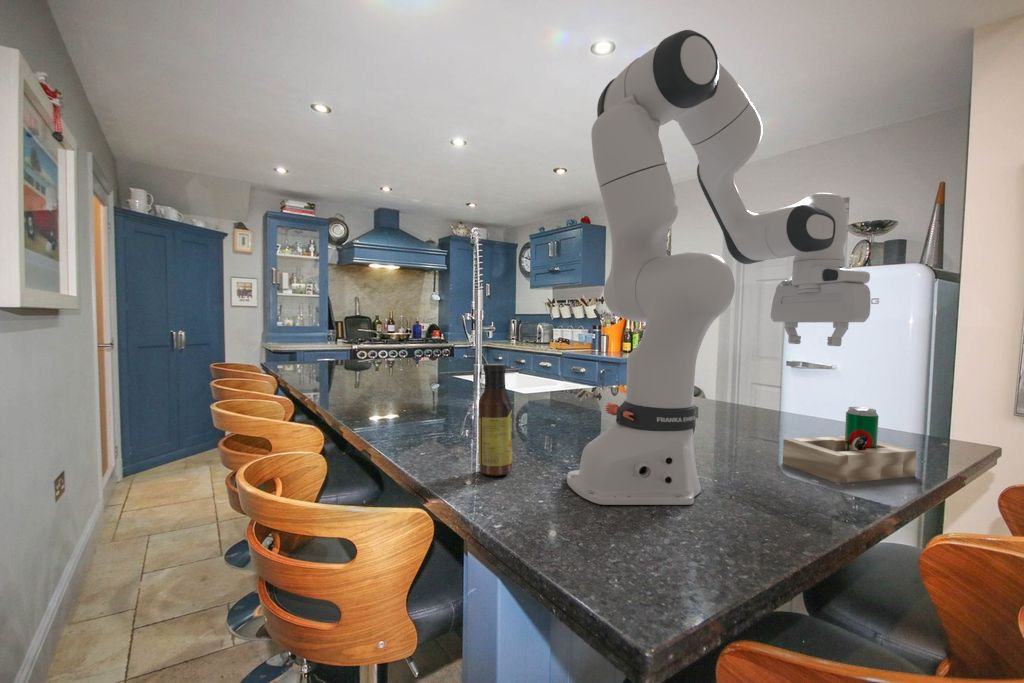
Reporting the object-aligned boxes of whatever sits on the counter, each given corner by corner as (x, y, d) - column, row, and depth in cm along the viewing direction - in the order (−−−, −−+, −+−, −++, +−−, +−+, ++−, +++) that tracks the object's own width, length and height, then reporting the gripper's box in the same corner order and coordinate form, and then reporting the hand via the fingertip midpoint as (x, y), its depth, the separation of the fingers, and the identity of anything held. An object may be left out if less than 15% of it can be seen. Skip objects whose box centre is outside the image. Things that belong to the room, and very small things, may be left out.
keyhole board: (836, 483, 82) (838, 455, 82) (782, 463, 94) (783, 439, 94) (914, 477, 87) (916, 450, 86) (853, 458, 98) (854, 435, 98)
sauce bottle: (518, 473, 85) (520, 365, 84) (489, 479, 81) (491, 366, 81) (499, 464, 90) (501, 362, 90) (471, 469, 87) (472, 363, 86)
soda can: (882, 474, 88) (885, 411, 88) (855, 473, 88) (858, 410, 88) (862, 466, 93) (865, 406, 93) (837, 465, 93) (840, 406, 93)
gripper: (765, 280, 104) (761, 342, 104) (851, 270, 84) (846, 347, 84) (789, 282, 105) (785, 343, 106) (879, 272, 85) (874, 348, 86)
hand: (813, 345), depth 95 cm, fingers open, 8 cm apart
